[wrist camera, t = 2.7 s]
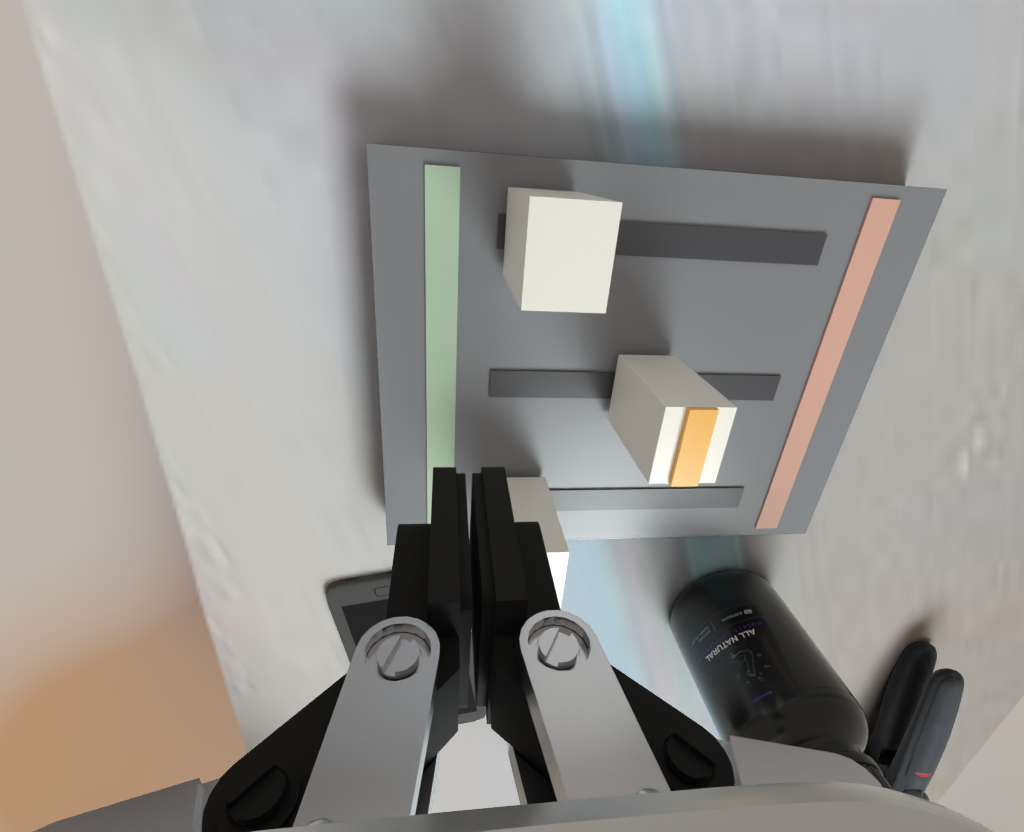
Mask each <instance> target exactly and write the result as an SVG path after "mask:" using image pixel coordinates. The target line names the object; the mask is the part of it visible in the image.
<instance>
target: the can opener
mask: <svg viewBox="0 0 1024 832" xmlns="http://www.w3.org/2000/svg"><path fill="white" fill-rule="evenodd" d="M936 659H937V652H936V649H935V647H934V646H932V645H931V644H928V643H924V642H919V643H914V644H912V645H910V646H909V647H907V648H906V649H905V650H904V652H903V653H902V655H901V657H900V659H899V660H898V662H897V664H896V666H895V667H894V670H893V671H892V674H891V676H890V679H889V682H888V684H887V687H886V690H885V693H884V696H883V700H882V703H881V706H880V710H879V714H878V717H877V720H876V724H875V727H874V730H873V732H872V734H871V736H870V738H869V739H868V741H867V745H866V748H865V750H864V752H863V753H865V754H867V755H869V756H871V757H872V758H873V759H874V761H875V762H876V763H877V765H878V766H879V767H880V769H881V770H882V773H883V776H884V778H885V779H886V780H887V782H888V783H889V785H890V786H891V788H892V789H893V790H894V791H898V792H902V793H906V794H909V795H913V796H916V797H919V798H922V799H925V800H928V801H929V799H928V796H927V795H926V794H925V790H926V788H927V786H928V784H929V782H930V780H931V778H932V776H933V775H934V772H935V770H936V768H937V766H938V763H939V761H940V759H941V757H942V754H943V752H944V750H945V748H946V745H947V742H948V739H949V737H950V734H951V731H952V728H953V725H954V722H955V719H956V716H957V712H958V709H959V705H960V701H961V697H962V693H963V688H964V679H963V677H962V675H961V674H960V673H959V672H957V671H955V670H952V669H939V670H937V671H935V672H934V673H933V670H934V667H935V663H936Z"/></svg>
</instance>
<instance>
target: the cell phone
mask: <svg viewBox="0 0 1024 832" xmlns="http://www.w3.org/2000/svg"><path fill="white" fill-rule="evenodd" d="M391 574H392V572H387V573H381V574H375V575H369V576H363V577H357V578H351V579H345V580H340V581H337V582H334V583H331V584H330V585H329V586H328V587H327V589H326V596H327V601H328V605H329V608H330V611H331V613H332V616H333V619H334V621H335V624H336V626H337V629H338V632H339V634H340V637H341V639H342V642H343V645H344V647H345V650H346V653H347V655H348V658H349V660H350V663H351V661H352V658H353V655H354V652H355V649H356V647H357V645H358V643H359V641H360V639H361V638H362V636H363V635H364V634H365V633H366V632H367V631H368V630H369V629H370V628H371V627H373V626H374V625H376V624H378V623H379V622H381V621H383V620H386V613H387V606H388V598H389V590H390V582H391ZM485 715H486V706H483V707H476V702H475V684H474V665H473V646H472V633H471V647H470V667H469V688H468V707H467V708H459V711H458V724H462V723H468V722H473V721H476V720H479V719H481V718H484V717H485Z"/></svg>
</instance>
